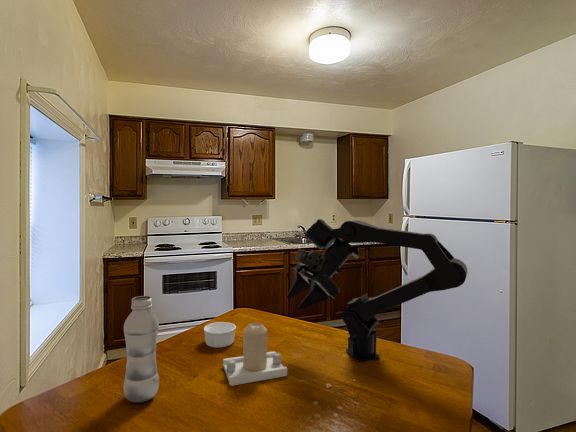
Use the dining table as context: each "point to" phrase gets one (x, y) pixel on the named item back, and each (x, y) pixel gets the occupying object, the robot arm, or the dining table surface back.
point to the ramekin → (219, 334)
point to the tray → (241, 375)
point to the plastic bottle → (141, 351)
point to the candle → (255, 347)
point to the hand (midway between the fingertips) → (293, 303)
